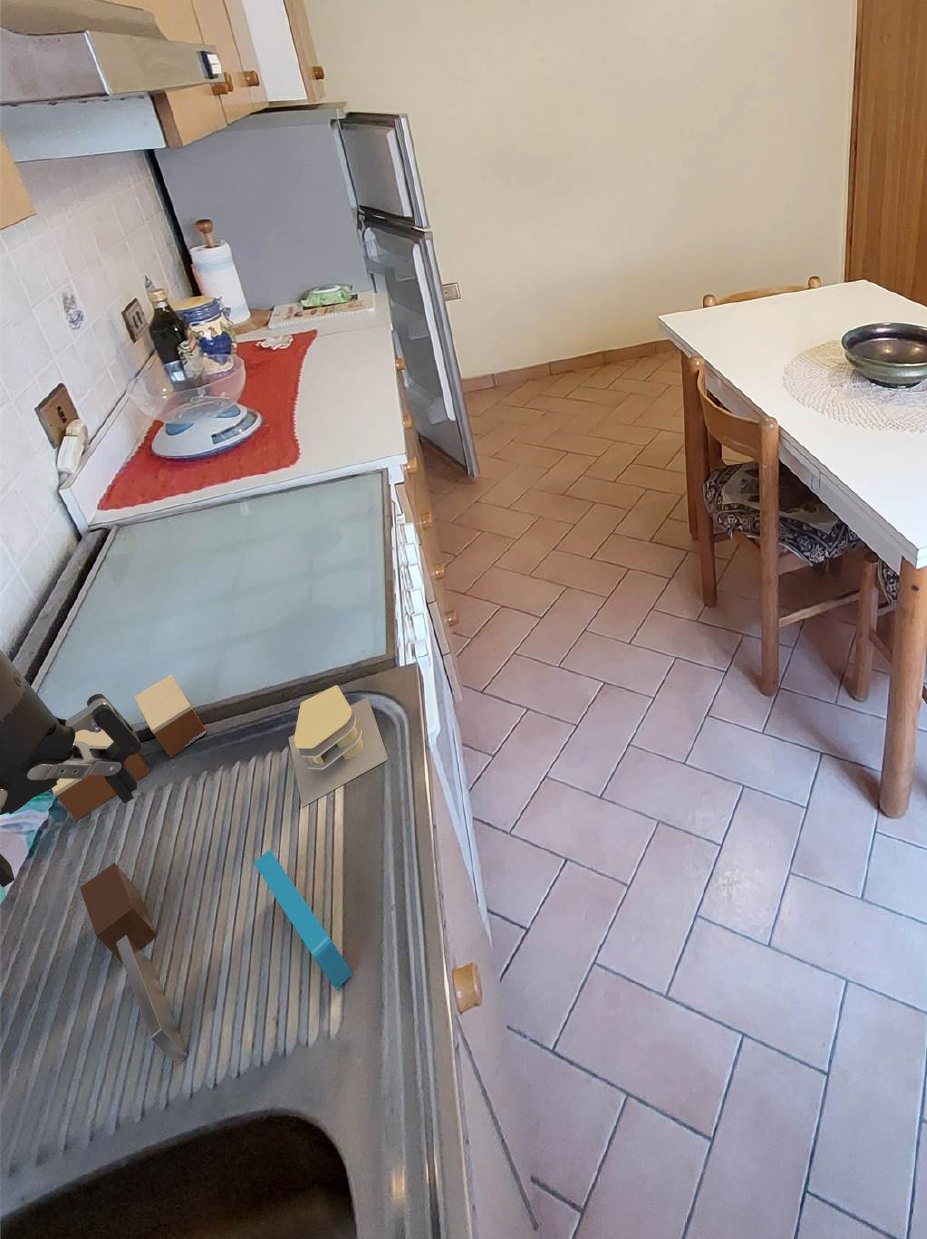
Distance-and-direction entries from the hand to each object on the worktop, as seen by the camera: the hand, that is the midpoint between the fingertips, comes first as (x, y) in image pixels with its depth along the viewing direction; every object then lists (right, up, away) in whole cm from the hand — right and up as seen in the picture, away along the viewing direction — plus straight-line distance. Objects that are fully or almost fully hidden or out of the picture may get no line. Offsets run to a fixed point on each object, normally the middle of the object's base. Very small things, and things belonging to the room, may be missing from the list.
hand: (69, 834), depth 61 cm
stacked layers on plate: (+13, -3, +20) cm, 24 cm away
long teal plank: (+19, -12, +4) cm, 22 cm away
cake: (-12, -6, +20) cm, 24 cm away
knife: (+5, -13, +3) cm, 14 cm away
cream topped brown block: (-7, -3, +24) cm, 26 cm away
